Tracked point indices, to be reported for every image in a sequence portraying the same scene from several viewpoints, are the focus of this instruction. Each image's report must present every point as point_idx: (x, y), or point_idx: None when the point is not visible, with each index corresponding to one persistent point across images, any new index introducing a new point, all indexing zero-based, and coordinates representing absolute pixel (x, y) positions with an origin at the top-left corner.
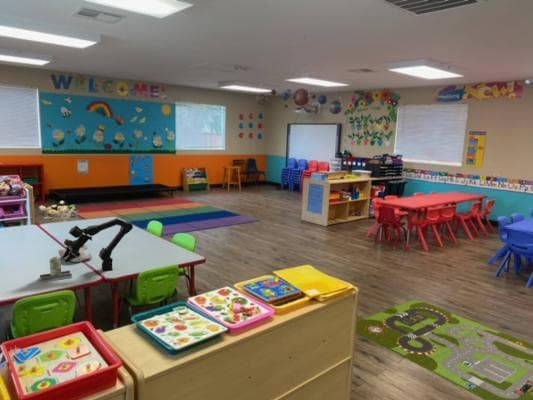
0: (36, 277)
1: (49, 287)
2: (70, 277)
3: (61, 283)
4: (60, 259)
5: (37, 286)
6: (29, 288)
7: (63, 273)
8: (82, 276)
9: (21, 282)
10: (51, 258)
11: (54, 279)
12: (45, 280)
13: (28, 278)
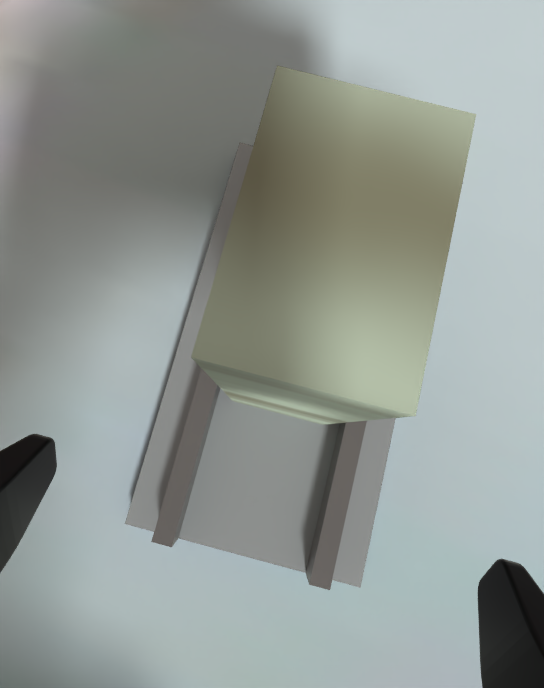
0: (477, 181)
1: (22, 157)
2: (136, 497)
3: (36, 314)
4: (194, 355)
5: (161, 79)
6: (167, 3)
7: (329, 475)
8: (66, 671)
9: (417, 11)
10: (443, 155)
11: (198, 286)
12: (237, 185)
13: (502, 105)
